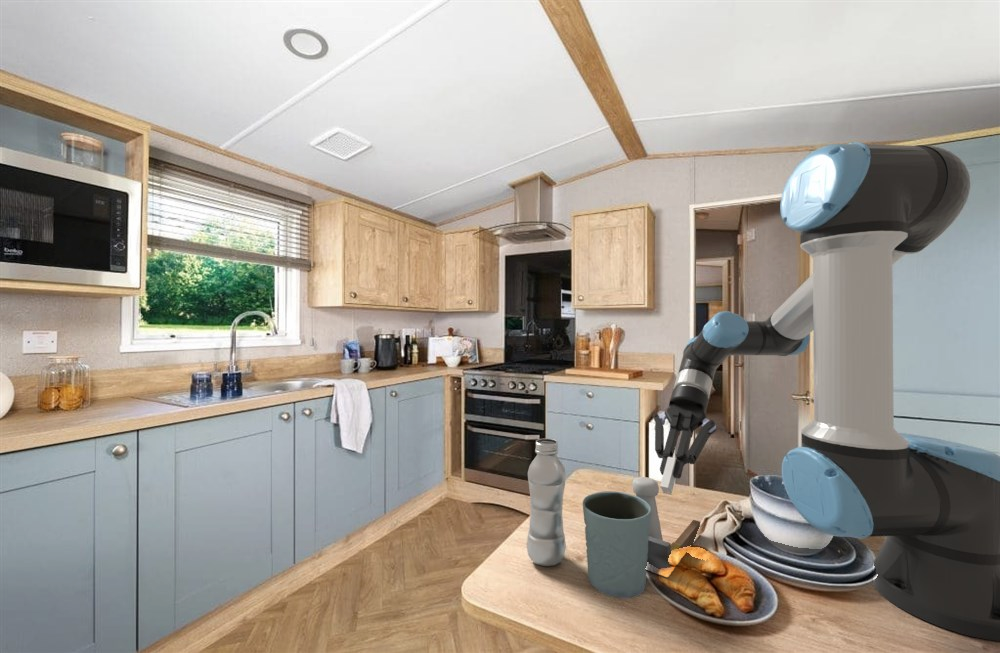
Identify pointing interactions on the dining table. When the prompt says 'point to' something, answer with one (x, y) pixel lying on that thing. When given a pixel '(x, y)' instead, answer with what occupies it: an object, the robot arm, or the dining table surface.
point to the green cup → (617, 542)
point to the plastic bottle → (546, 505)
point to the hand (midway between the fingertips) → (665, 490)
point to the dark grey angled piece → (670, 546)
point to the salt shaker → (649, 502)
